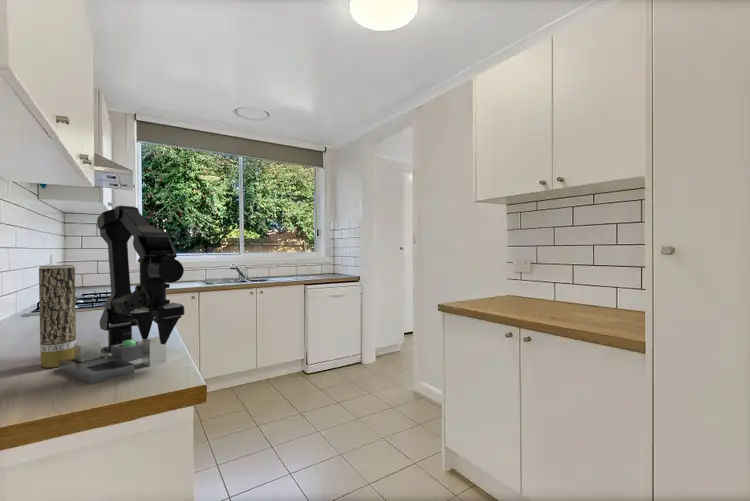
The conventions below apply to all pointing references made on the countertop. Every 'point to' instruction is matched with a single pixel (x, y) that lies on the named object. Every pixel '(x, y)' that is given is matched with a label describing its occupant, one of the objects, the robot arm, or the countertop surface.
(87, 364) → the rectangular frame
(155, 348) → the block
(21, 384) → the countertop surface
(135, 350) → the grey hollow square block
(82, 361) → the block
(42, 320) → the paper tube
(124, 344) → the button
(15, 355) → the countertop surface
